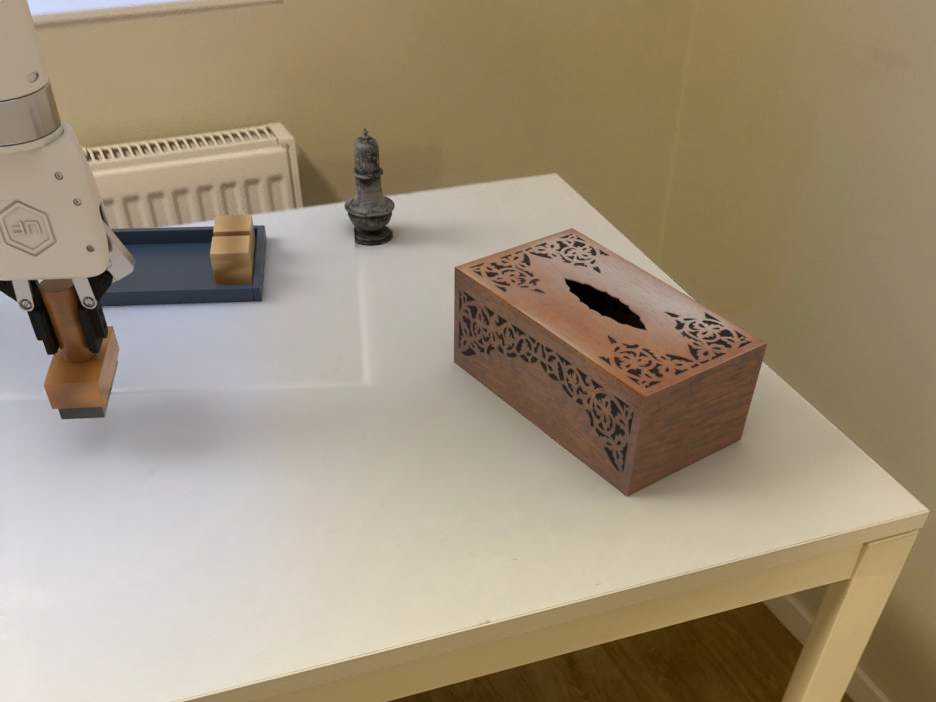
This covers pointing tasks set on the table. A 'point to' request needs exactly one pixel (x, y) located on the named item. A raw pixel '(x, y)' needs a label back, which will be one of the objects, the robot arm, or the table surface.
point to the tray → (178, 269)
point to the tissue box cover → (604, 356)
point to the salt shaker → (369, 195)
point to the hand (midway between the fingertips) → (76, 343)
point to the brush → (76, 357)
